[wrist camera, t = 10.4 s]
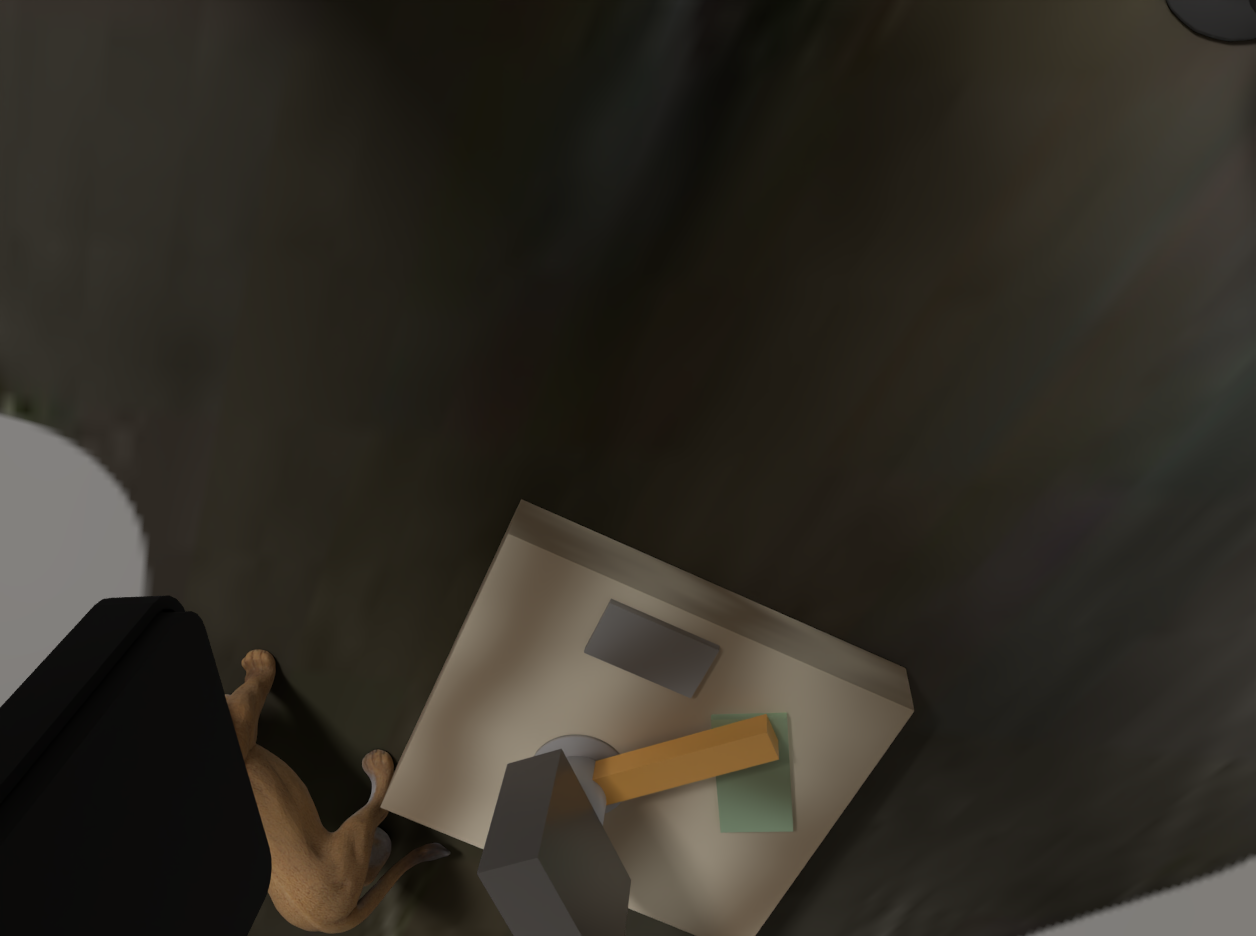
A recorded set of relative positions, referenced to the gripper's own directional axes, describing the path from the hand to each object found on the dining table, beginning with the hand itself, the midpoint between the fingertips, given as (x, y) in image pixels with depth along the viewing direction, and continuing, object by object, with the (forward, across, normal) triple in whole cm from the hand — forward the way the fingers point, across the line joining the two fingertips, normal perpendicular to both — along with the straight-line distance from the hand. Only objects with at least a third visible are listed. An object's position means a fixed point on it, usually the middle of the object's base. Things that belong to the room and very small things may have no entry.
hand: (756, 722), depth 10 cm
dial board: (+28, +5, +21) cm, 36 cm away
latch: (+26, +4, +21) cm, 33 cm away
